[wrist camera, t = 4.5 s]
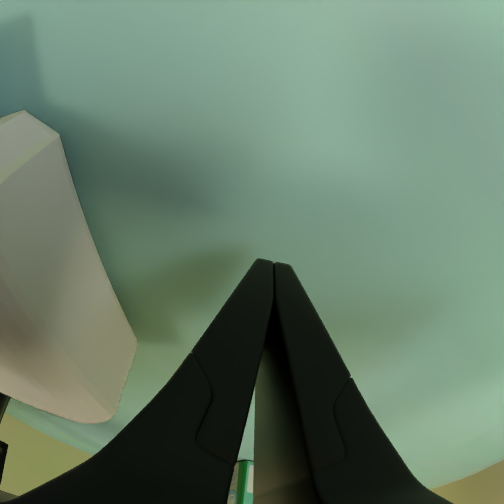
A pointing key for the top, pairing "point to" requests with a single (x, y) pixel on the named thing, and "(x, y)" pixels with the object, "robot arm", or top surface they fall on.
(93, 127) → the top surface
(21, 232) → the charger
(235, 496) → the milk carton
